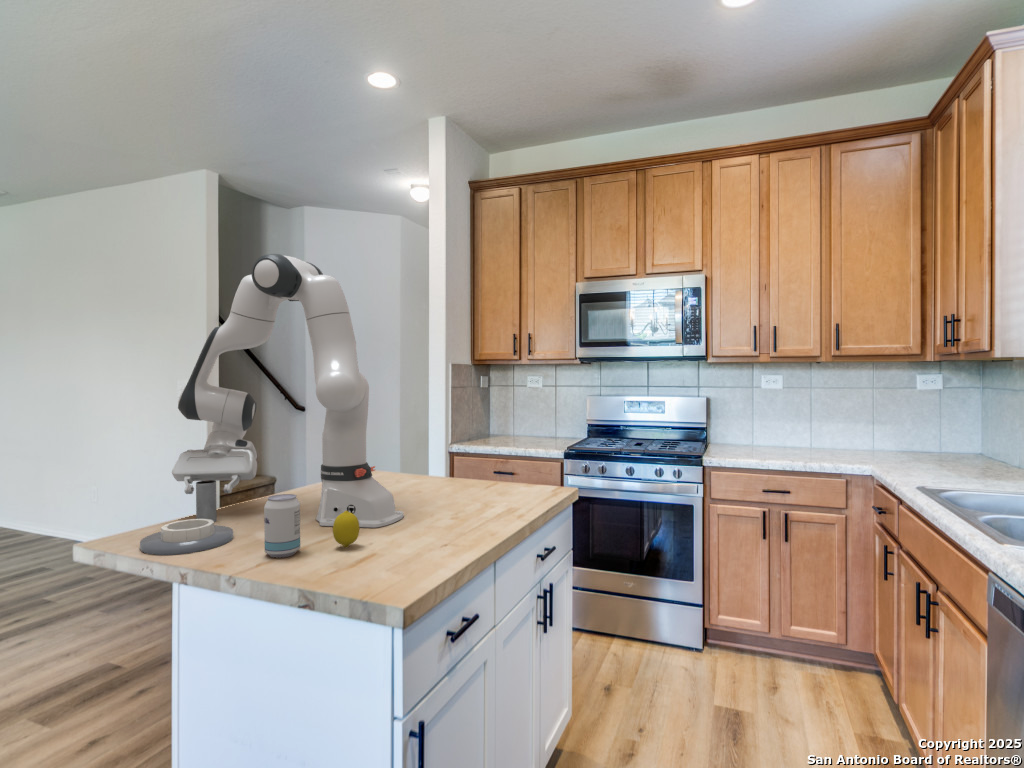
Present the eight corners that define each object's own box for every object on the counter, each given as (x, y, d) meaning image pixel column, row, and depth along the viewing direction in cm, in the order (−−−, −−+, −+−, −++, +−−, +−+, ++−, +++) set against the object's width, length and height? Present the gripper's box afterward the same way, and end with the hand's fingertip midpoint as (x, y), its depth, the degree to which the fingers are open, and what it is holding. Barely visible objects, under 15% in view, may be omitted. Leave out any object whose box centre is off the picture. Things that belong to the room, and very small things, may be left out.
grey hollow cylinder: (201, 519, 146) (201, 480, 146) (219, 519, 146) (219, 480, 146) (193, 524, 141) (192, 483, 141) (211, 524, 142) (211, 483, 141)
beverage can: (264, 551, 119) (264, 495, 119) (299, 547, 122) (299, 492, 122) (264, 561, 113) (264, 501, 113) (301, 556, 116) (300, 498, 115)
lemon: (352, 552, 119) (351, 514, 118) (328, 550, 120) (327, 513, 120) (364, 544, 124) (363, 508, 124) (341, 543, 125) (340, 507, 125)
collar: (250, 535, 131) (250, 518, 131) (183, 558, 114) (183, 539, 114) (192, 528, 137) (192, 512, 137) (119, 550, 120) (119, 531, 120)
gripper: (178, 443, 151) (160, 486, 141) (257, 442, 153) (245, 484, 144) (185, 457, 155) (168, 500, 146) (263, 456, 158) (251, 498, 148)
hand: (207, 492), depth 145 cm, fingers open, 8 cm apart
